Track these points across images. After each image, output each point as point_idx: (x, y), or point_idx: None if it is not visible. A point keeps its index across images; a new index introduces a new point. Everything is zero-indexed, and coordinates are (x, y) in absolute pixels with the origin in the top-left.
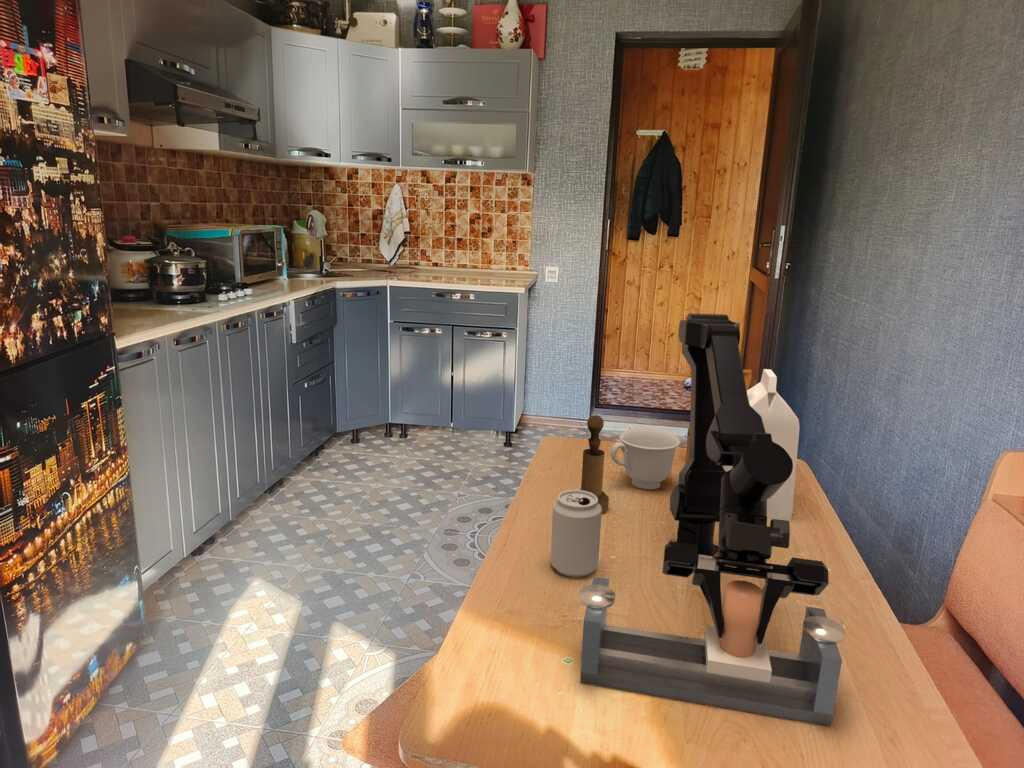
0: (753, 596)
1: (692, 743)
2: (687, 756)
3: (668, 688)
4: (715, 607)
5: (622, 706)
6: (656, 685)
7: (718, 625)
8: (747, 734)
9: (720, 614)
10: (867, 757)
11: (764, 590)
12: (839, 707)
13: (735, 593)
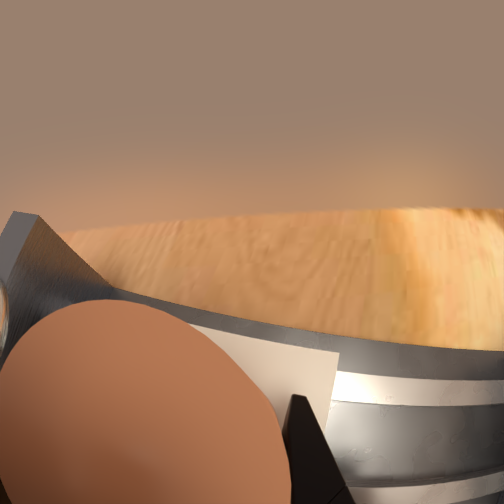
0: (66, 338)
1: (360, 239)
2: (369, 214)
3: (407, 344)
4: (330, 477)
5: (469, 313)
6: (431, 347)
7: (310, 418)
8: (256, 265)
9: (300, 452)
10: (90, 232)
11: (9, 500)
12: None
13: (219, 401)
